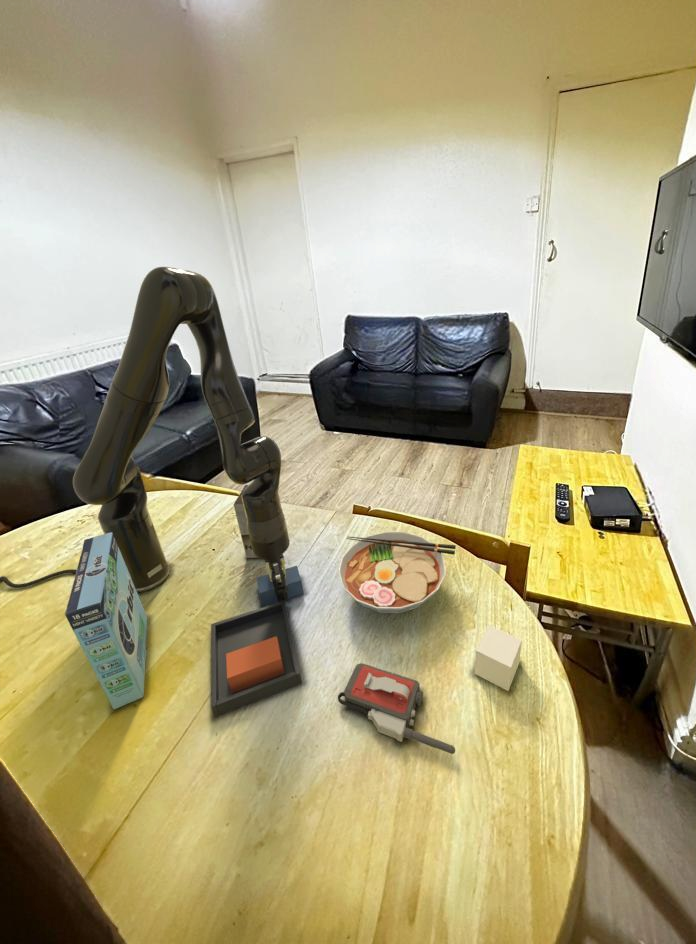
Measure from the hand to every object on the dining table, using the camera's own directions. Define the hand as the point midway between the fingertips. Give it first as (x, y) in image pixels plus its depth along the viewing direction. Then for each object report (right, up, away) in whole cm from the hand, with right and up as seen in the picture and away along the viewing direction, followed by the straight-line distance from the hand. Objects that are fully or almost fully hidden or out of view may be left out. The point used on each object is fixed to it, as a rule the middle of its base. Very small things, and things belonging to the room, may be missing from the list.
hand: (281, 590), depth 92 cm
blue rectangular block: (0, 0, 0) cm, 0 cm away
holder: (-1, -7, -14) cm, 16 cm away
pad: (0, -8, -17) cm, 19 cm away
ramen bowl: (+25, 0, -1) cm, 25 cm away
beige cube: (+43, -7, -19) cm, 47 cm away
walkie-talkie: (+25, -10, -24) cm, 37 cm away
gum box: (-25, -8, -13) cm, 29 cm away
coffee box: (-8, +6, +15) cm, 18 cm away
